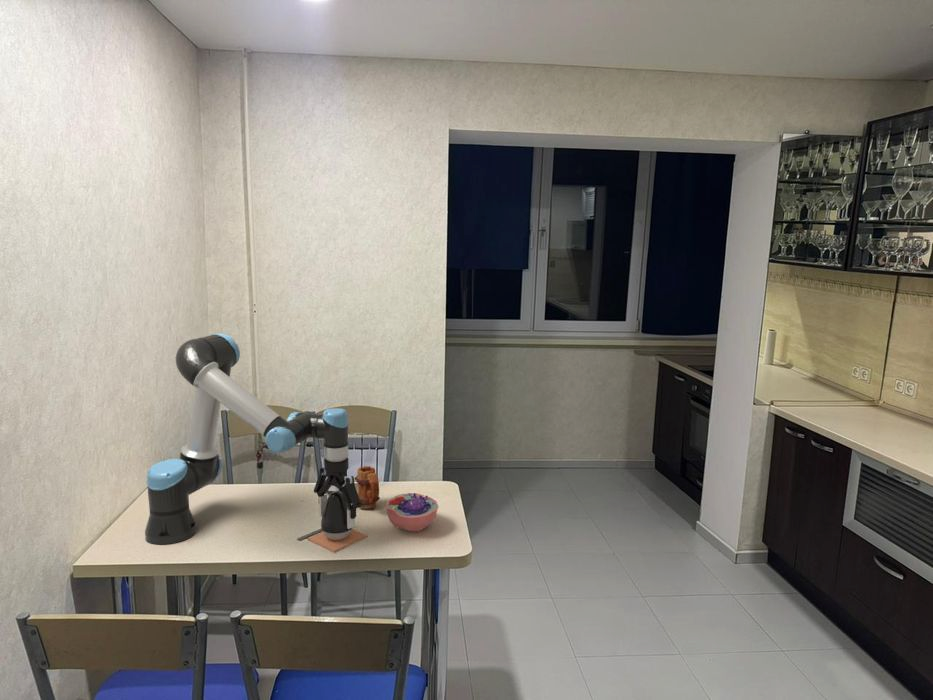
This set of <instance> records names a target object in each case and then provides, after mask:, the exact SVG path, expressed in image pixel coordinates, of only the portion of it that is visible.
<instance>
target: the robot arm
mask: <svg viewBox="0 0 933 700" xmlns="http://www.w3.org/2000/svg"><path fill="white" fill-rule="evenodd" d="M240 354H241V351H240V347H239V346H238V344H237V343H236V341H235V340H234V338H232V337H231V336H230V335H228V334H224V333H217V334H215V333H213V334H209V335H206V336H201V337H198V338H192V339H188V340H186V341H185V342H183V343H182V344H181V345H180V346H179V348H178V349H177V351H176V353H175V365H176V368H177V369H178V372H179V373H180V375H181V376H182V377H183V378H184V379H185V380H186V381H187V382H188V384H190V385H192V386H193V387H194V393H193V401H192V406H191V410H190V411H191V413H190V419H189V425H188V433H187V441H186V444H184V445H183V446H182V447H181V448H180V454H179V458H171V459H166V460H161V461H159V462H156V463H155V464H153V465H152V466H151V467H149V469H148V471H147V474H146V477H147V480H146V486H147V496H148V497H147V498H148V505H149V506H148V507H149V517H148V520H147V523H146V527H145V531H144V536H145V537H144V538H145V541H146V542H147V543H150V544H155V545H171V544H176V543H179V542H182V541H185V540H188V539H190V538H191V537H193V536H194V535H195V534H196V532H197V522H196V520H195V518H194V515H193V513H192V512H191V509H190V499H189V496H190V495H192V494H193V493H196V492H197V491H200V490H201V489H203V488H204V487H206V486H209V485H211V484H212V483H214V481H216V480H217V479H218V478H219V476H220V475H221V472H222V470H223V461H222V459H221V458H220V457H221V456H220V455H219V451H218V449H217V448H216V447H215V441H216V436H217V430H218V429H217V427H218V424H219V423H218V422H219V417H220V410H221V404H222V405H223V406H224V407H226V408H227V409H228V410H229V411H231V412H232V413H233V414H235V416H237V417H239V418H240V419H241V420H242V421H244V422H245V423H246V424H248V425H249V426H250V427H252V429H254V430H255V431H256V432H258V433H259V434H261V435H262V436H264V438H265V444H266V446H267V448H268V450H270V452H272V453H276V454H281V453H285V452H287V451H290V450H292V449H293V448H294V447H295V446H297V445H298V444H301V443H302V442H304V441H305V440H308V439H309V438H311V439H321V440H323V467H321V468H319V473H318V474H319V475H318V478H317V480H316V483H315V486H314V487H313V493H314V494H316V495H317V497H318V506H319V507H318V510H319V517H322V513H323V509H324V506H325V503H326V501H327V499H328V494H327V491H328V489H329V488H330V487H331V485H332V486H335V487H337V488H338V489H339V491H341V493H342V495H343V497H344V499H345V501H346V503H347V505H348V507H349V508H348V509H347V528H348V529H350V528H352V527H353V528H354V527H356V518H357V509H360V507H361V502H360V499H359V496H358V489H357V487H356V484H355V477H354V476H353V475H352V476H351V475H350V476H348V475H347V471H348V470H349V466H350V465H349V418H348V412H347V410H346V409H344V408H336V407H335V408H334V407H333V408H327V409H325V410H324V411H323V414H321V413H320V414H319V413H310V412H305V411H300V412H299V411H295V412H292V413H290V414H289V416H288V417H287V419H285V418H284V417H282V416H281V415H280V414H278V413H277V412H276V411H274V410H273V409H271V408H270V407H269V406H268V405H266V404H265V403H264V402H263V401H261V400H260V399H259V398H257V396H255V395H254V394H252V392H250V391H248V390H247V389H246V388H245V387H243V386H242V385H241V384H239V383H238V382H237V381H235V380H234V379H233V378H231V377H230V376H231V371H232V370H231V369H232V367H234V366H236V364H237V363H238V362H239V360H240V357H241V356H240ZM324 458H325V459H324ZM326 478H327V479H326ZM325 480H326V481H325ZM344 484H345V486H343V485H344ZM353 528H352V529H353Z"/></svg>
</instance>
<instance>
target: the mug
mask: <svg viewBox="0 0 933 700" xmlns="http://www.w3.org/2000/svg"><path fill="white" fill-rule="evenodd" d="M354 481H355V482H356V483H357V493H358V496H359V499H360V502H361V507H359V509H361V510H362V509H363V510H369V509H374V508H375V507H377V502H378V501H379V500H380V484H379V481H380V480H379V478H378V474H377V472H376V469H375V468H374V467H371V466H370V465H369V466H368V465H366V466H365V465H364V466H360V467H358V468H357V474H356V476H355V477H354Z"/></svg>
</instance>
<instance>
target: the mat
mask: <svg viewBox="0 0 933 700" xmlns="http://www.w3.org/2000/svg"><path fill="white" fill-rule="evenodd" d="M368 537H369V535H368V534H366V533H364V532H361V531H359V530H357V529H355V528H352V530H351V533H350V534H349V535H348V536H347V537H346V538H344V539H342V540H331V539H328V538H327V537H326V536H325V535H324V533H323V531H322V532H320V533H318V534H315V535H313V536H311V537H308V538H306V539H307V541H308V542H311V543H313V544H315V545H317V546H319V547H321V548H323V549H325V550H327V551H330V552H331V553H333V554H335V553H337V552H339V551H342V550H343V549H345V548H348V547H350V546H351V545H354V544H356V543H359V542H361V541H362V540H364V539H367V538H368Z"/></svg>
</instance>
